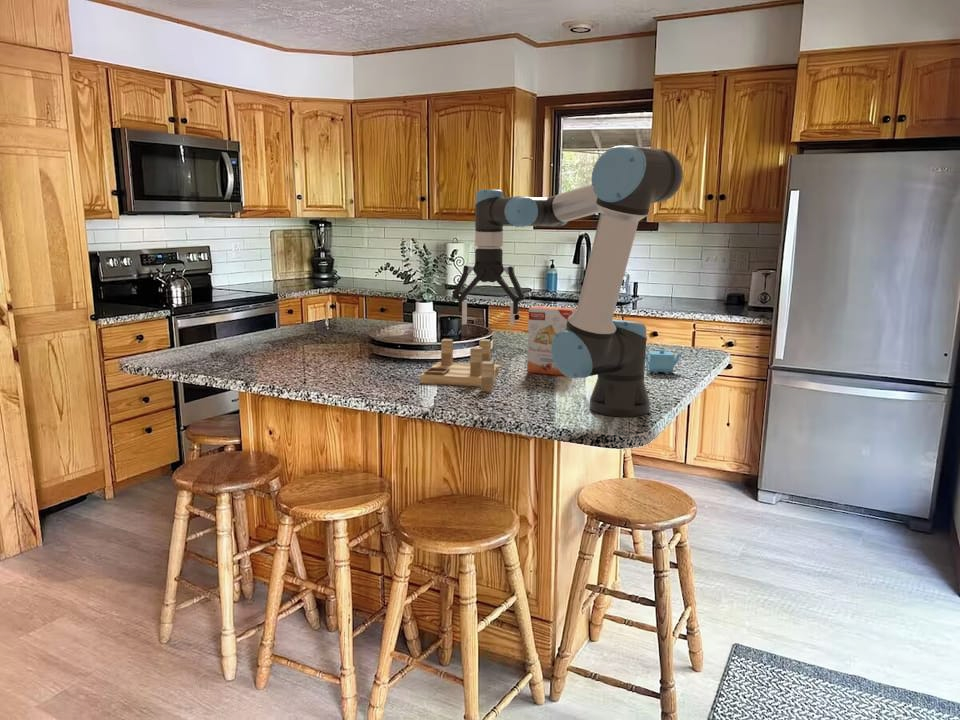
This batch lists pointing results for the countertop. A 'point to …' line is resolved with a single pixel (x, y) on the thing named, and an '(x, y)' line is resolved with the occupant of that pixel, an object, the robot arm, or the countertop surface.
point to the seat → (456, 368)
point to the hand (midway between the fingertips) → (488, 325)
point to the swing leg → (486, 349)
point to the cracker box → (545, 337)
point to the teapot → (661, 361)
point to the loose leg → (487, 376)
